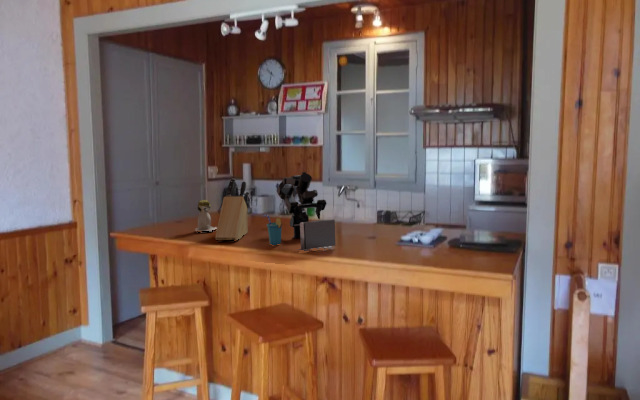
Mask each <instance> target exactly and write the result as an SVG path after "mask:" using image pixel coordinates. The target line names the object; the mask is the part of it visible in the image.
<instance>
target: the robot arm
mask: <svg viewBox="0 0 640 400" xmlns="http://www.w3.org/2000/svg"><path fill="white" fill-rule="evenodd" d="M312 180H313V177H312V176H311V175H310V174H309V173H307V172H306V171H305V172H301V174H300V175H299V174H296V175H295V174H294V175H292V176H288V177H287V176H285V177H283V178H282V181H281V182H280V183H279V184H278V186H277V195H278V197H279V198H280V200H283V201H285V203H286V205H287V206H288V208H287V209H288V213H289V214H291V218H290V220H289V226H290V227H291V228H293V236H292V239H296V240H297V239H300V240H301V238H300V223H301V222H309V221H310V220H309V218H310V217H309V215H308V213H307V211H306V210H305V209H314V208H315V212H314V213H315V214H316V218H317V219H318V220H320V219H321V212H322V211H324V210H325V208H326V207H327V204H328V203H327V201H326V199H317V200H316V203H315V202H314V198H317V197H318V191H317V189H313V190H308V189H309V188H310V185H311V183H312ZM286 185H288V186H286ZM289 185H290V186H289ZM294 191H295V194H296V195H297V198H298V201H296V199H295V197H294ZM313 202H314V203H313Z"/></svg>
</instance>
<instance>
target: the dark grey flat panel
mask: <svg viewBox="0 0 640 400" xmlns="http://www.w3.org/2000/svg"><path fill="white" fill-rule="evenodd" d="M335 223H336V221H335V218H331V219H330V218H329V219H323V220H322V219H321V220H320V219H318V220H313V221H312V220H311V221H310V220H309V221H308V222H301V223H300V238H301V239H300V249H301V250H305V249H308V250H309V249H313V248H321V247H328V246H332V247H334V246H336V224H335Z"/></svg>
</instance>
